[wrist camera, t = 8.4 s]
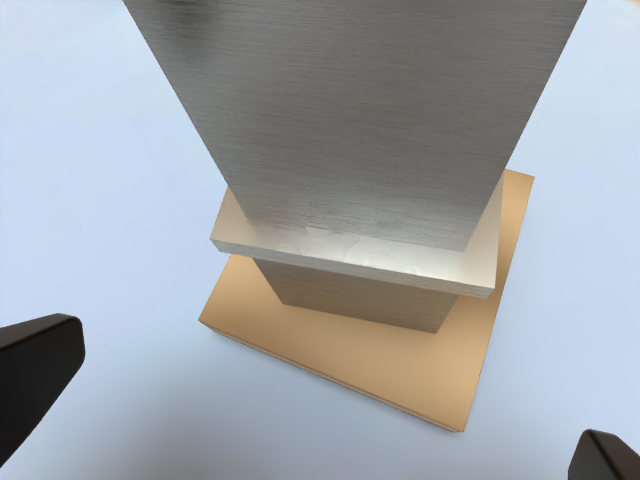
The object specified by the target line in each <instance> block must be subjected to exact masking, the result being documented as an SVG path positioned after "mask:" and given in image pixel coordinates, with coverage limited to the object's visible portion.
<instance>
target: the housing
mask: <svg viewBox="0 0 640 480" xmlns="http://www.w3.org/2000/svg"><path fill="white" fill-rule="evenodd" d="M123 2H124V4H125V5H126V7H127V9H128V11H129V12H130V14H131V16H132V18H133V19H134V21H135V23H136V25H137V26H138V28H139V30H140V32H141V33H142V35H143V37H144V39H145V40H146V42H147V44H148V46H149V47H150V49H151V51H152V53H153V54H154V56H155V58H156V60H157V61H158V63H159V65H160V67H161V68H162V70H163V72H164V74H165V75H166V77H167V79H168V81H169V83H170V84H171V86H172V88H173V90H174V91H175V93H176V95H177V97H178V98H179V100H180V102H181V104H182V105H183V107H184V109H185V111H186V112H187V114H188V116H189V118H190V119H191V121H192V123H193V125H194V126H195V128H196V130H197V132H198V133H199V135H200V137H201V139H202V140H203V142H204V144H205V146H206V147H207V149H208V151H209V153H210V154H211V156H212V158H213V160H214V161H215V163H216V165H217V167H218V168H219V170H220V172H221V174H222V175H223V177H224V179H225V181H226V182H227V184H228V187H227V190H226V193H225V196H224V199H223V201H222V204H221V207H220V210H219V213H218V216H217V219H216V222H215V225H214V228H213V231H212V234H211V237H210V240H211V241H212V242H213V244H214V245H215V246H216V247H217V249H218V250H219V251H220V252H224V253H230V254H235V255H241V256H246V257H251V258H252V259H253V261H254V262H255V264H256V265H257V266H258V268H259V269H260V271H261V272H262V274H263V275H264V277H265V278H266V280H267V281H268V283H269V284H270V286H271V287H272V289H273V290H274V292H275V293H276V295H277V296H278V298H279V299H280V301H281V302H282V304H285V305H290V306H295V307H300V308H305V309H310V310H315V311H321V312H326V313H331V314H336V315H341V316H346V317H351V318H356V319H361V320H366V321H372V322H377V323H382V324H387V325H392V326H397V327H402V328H407V329H412V330H417V331H423V332H428V333H433V334H436V333H437V331H438V330H439V328H440V327H441V325H442V323H443V322H444V320H445V318H446V317H447V315H448V313H449V312H450V310H451V309H452V307H453V305H454V304H455V302H456V300H457V299H458V297H459V296H460V295H465V296H470V297H476V298H481V299H487V297H488V296H489V295H490V294H491V293H492V291H493V290H494V289H495V279H496V267H497V255H498V243H499V231H500V219H501V207H502V195H503V183H504V171H505V167H506V165H507V163H508V161H509V159H510V157H511V155H512V153H513V151H514V149H515V147H516V145H517V143H518V140H519V138H520V136H521V134H522V132H523V130H524V128H525V126H526V124H527V122H528V120H529V118H530V116H531V114H532V112H533V110H534V108H535V106H536V104H537V102H538V100H539V98H540V96H541V94H542V92H543V90H544V88H545V86H546V83H547V81H548V79H549V77H550V75H551V73H552V71H553V69H554V67H555V65H556V63H557V61H558V59H559V57H560V55H561V53H562V51H563V49H564V47H565V45H566V43H567V41H568V39H569V37H570V35H571V33H572V31H573V29H574V26H575V24H576V22H577V20H578V18H579V16H580V14H581V12H582V10H583V8H584V6H585V4H586V2H587V0H123Z"/></svg>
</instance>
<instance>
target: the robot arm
mask: <svg viewBox="0 0 640 480" xmlns="http://www.w3.org/2000/svg"><path fill="white" fill-rule="evenodd" d="M84 359H85V344H84V336H83V328H82V323H81V321H80V319H79V318H77V317H75V316H71V315H66V314H61V313H57V314H52V315H48V316H44V317H41V318H37V319H33V320H29V321H25V322H21V323H18V324H14V325H10V326H6V327H2V328H0V468H1V467H2V466H3V465H4V463H5V462H6V461H7V460H8V459H9V458H10V457H11V456H12V455H13V453H14V452H15V451H16V450H17V449H18V448H19V447H20V446H21V444H22V443H23V442H24V441H25V440H26V438H27V437H28V436H29V435H30V434H31V433H32V431H33V430H34V429H35V427H36V426H37V425H38V424H39V422H40V421H41V420H42V418H43V417H44V416H45V414H46V413H47V412H48V410H49V409H50V408H51V406H52V405H53V404H54V402H55V401H56V400H57V398H58V397H59V396H60V394H61V393H62V391H63V390H64V389H65V387H66V386H67V385H68V383H69V382H70V381H71V379H72V378H73V377H74V375H75V374H76V373H77V371H78V370H79V369H80V367H81V366H82V364H83V362H84ZM568 480H640V456H639V455H638V454H637V453H636V452H635V451H634V450H632V449H631V448H630V447H629V446H628V445H627V444H626V443H624V442H623V441H622V440H621V439H620V438H619V437H617V436H616V435H614V434H611V433H606V432H602V431H597V430H592V429H588V430H585V431H584V432H583V433H582V435H581V437H580V439H579V442H578V445H577V447H576V450H575V452H574V455H573V458H572V460H571V463H570V466H569V469H568Z"/></svg>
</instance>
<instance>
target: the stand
mask: <svg viewBox="0 0 640 480" xmlns="http://www.w3.org/2000/svg"><path fill="white" fill-rule="evenodd" d="M533 181H534V176H530V175H527V174H523V173H519V172H516V171H512V170H508V169H505V171H504V183H503V195H502V207H501V219H500V231H499V243H498V255H497V267H496V279H495V289H494V290H493V291H492V293H491V294H490V295H489V296H488V297H487V299H481V298H476V297H470V296H465V295H460V296H459V297H458V299H457V300H456V302H455V304H454V305H453V307H452V309H451V310H450V312H449V313H448V315H447V317H446V318H445V320H444V322H443V323H442V325H441V327H440V328H439V330H438V331H437V333H436V334H433V333H428V332H423V331H417V330H412V329H407V328H402V327H397V326H392V325H387V324H382V323H377V322H372V321H366V320H361V319H356V318H351V317H346V316H341V315H336V314H331V313H326V312H321V311H315V310H310V309H305V308H300V307H295V306H290V305H285V304H282V302H281V301H280V299H279V298H278V296H277V295H276V293H275V292H274V290H273V289H272V287H271V286H270V284H269V283H268V281H267V280H266V278H265V277H264V275H263V274H262V272H261V271H260V269H259V268H258V266H257V265H256V264H255V262H254V261H253V259H252V258H251V257H246V256H241V255H235V254H231V256H230V258H229V260H228V262H227V264H226V266H225V268H224V270H223V272H222V274H221V276H220V278H219V280H218V282H217V283H216V285H215V287H214V289H213V291H212V293H211V295H210V297H209V299H208V301H207V303H206V305H205V307H204V309H203V311H202V313H201V315H200V317H199V319H198V321H200V322H201V323H203V324H204V325H206V326H207V327H209V328H210V329H212V330H213V331H214V332H217V333H219V334H222V335H224V336H226V337H229V338H231V339H233V340H236V341H238V342H241V343H243V344H245V345H248V346H250V347H252V348H255V349H257V350H260V351H262V352H264V353H267V354H269V355H271V356H274V357H276V358H279V359H281V360H283V361H286V362H288V363H290V364H293V365H295V366H298V367H300V368H302V369H305V370H307V371H309V372H312V373H314V374H317V375H319V376H321V377H324V378H326V379H328V380H331V381H333V382H336V383H338V384H340V385H343V386H345V387H347V388H350V389H352V390H355V391H357V392H359V393H362V394H364V395H366V396H369V397H371V398H374V399H376V400H378V401H381V402H383V403H385V404H388V405H390V406H393V407H395V408H397V409H400V410H402V411H404V412H407V413H409V414H412V415H414V416H416V417H419V418H421V419H423V420H426V421H428V422H431V423H433V424H435V425H438V426H440V427H442V428H445V429H447V430H450V431H452V432H464V430H465V426H466V422H467V419H468V415H469V412H470V408H471V404H472V401H473V397H474V394H475V390H476V386H477V383H478V379H479V376H480V372H481V368H482V365H483V361H484V358H485V354H486V350H487V347H488V343H489V339H490V336H491V332H492V329H493V325H494V321H495V318H496V314H497V311H498V307H499V303H500V300H501V296H502V293H503V289H504V285H505V282H506V278H507V275H508V271H509V267H510V264H511V260H512V256H513V253H514V249H515V246H516V242H517V238H518V235H519V231H520V228H521V224H522V220H523V217H524V213H525V210H526V206H527V202H528V199H529V195H530V192H531V188H532V184H533Z"/></svg>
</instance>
